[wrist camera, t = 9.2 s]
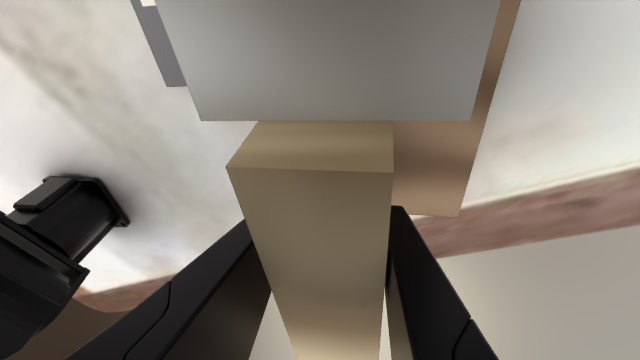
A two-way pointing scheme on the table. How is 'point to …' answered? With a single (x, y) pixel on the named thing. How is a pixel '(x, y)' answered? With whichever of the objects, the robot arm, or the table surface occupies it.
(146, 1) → the tile
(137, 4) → the mat
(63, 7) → the table surface
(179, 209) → the table surface
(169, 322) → the robot arm
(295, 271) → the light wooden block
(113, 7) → the table surface
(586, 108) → the table surface
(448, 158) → the board
